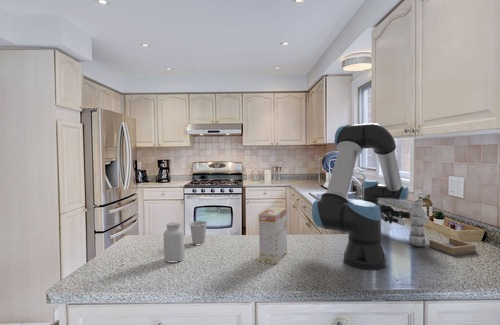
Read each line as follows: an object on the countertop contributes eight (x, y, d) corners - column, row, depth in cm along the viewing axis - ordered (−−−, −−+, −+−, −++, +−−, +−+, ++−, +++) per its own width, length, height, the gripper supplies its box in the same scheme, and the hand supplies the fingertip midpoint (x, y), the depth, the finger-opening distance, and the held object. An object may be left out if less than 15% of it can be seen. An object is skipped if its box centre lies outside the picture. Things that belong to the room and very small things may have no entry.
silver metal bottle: (420, 243, 128) (421, 200, 127) (428, 248, 121) (429, 203, 120) (406, 243, 128) (406, 200, 128) (413, 248, 122) (413, 203, 121)
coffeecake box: (272, 250, 123) (271, 206, 122) (287, 252, 120) (287, 207, 119) (258, 262, 110) (257, 213, 109) (275, 265, 106) (274, 214, 106)
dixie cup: (202, 247, 128) (201, 225, 128) (186, 245, 131) (186, 224, 131) (210, 241, 136) (210, 221, 136) (195, 240, 139) (195, 220, 139)
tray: (454, 255, 112) (454, 248, 112) (428, 246, 124) (428, 239, 124) (476, 252, 115) (476, 245, 115) (449, 243, 127) (449, 237, 127)
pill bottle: (178, 254, 119) (177, 220, 119) (188, 259, 114) (187, 223, 113) (160, 259, 114) (159, 223, 113) (170, 265, 108) (169, 227, 108)
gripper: (402, 217, 149) (438, 227, 129) (362, 220, 143) (393, 231, 123) (402, 203, 149) (438, 211, 128) (362, 206, 143) (393, 215, 122)
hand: (416, 221), depth 125 cm, fingers open, 13 cm apart
